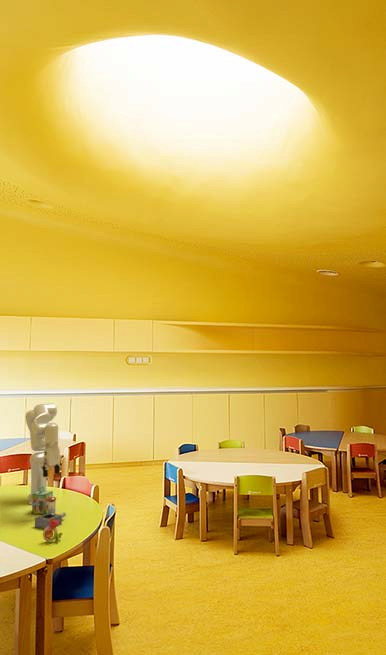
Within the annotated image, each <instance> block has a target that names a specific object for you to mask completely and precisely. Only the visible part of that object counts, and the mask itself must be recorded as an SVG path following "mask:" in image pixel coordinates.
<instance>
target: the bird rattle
mask: <svg viewBox="0 0 386 655" xmlns="http://www.w3.org/2000/svg"><path fill="white" fill-rule="evenodd" d="M49 524H50V525H51V526H48V527H46V528H45V529H43V531H42V538H43V539H44V540H45V542H46V544H47V543H50V542H54V541H55V542H56V544H57V543H59V542H60V539H61V538H62V536H63V532H58V529H57V527H59V526H60V525H59V524H58V520H56V521H54V520H52V521H51V520H50V521H49Z"/></svg>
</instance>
